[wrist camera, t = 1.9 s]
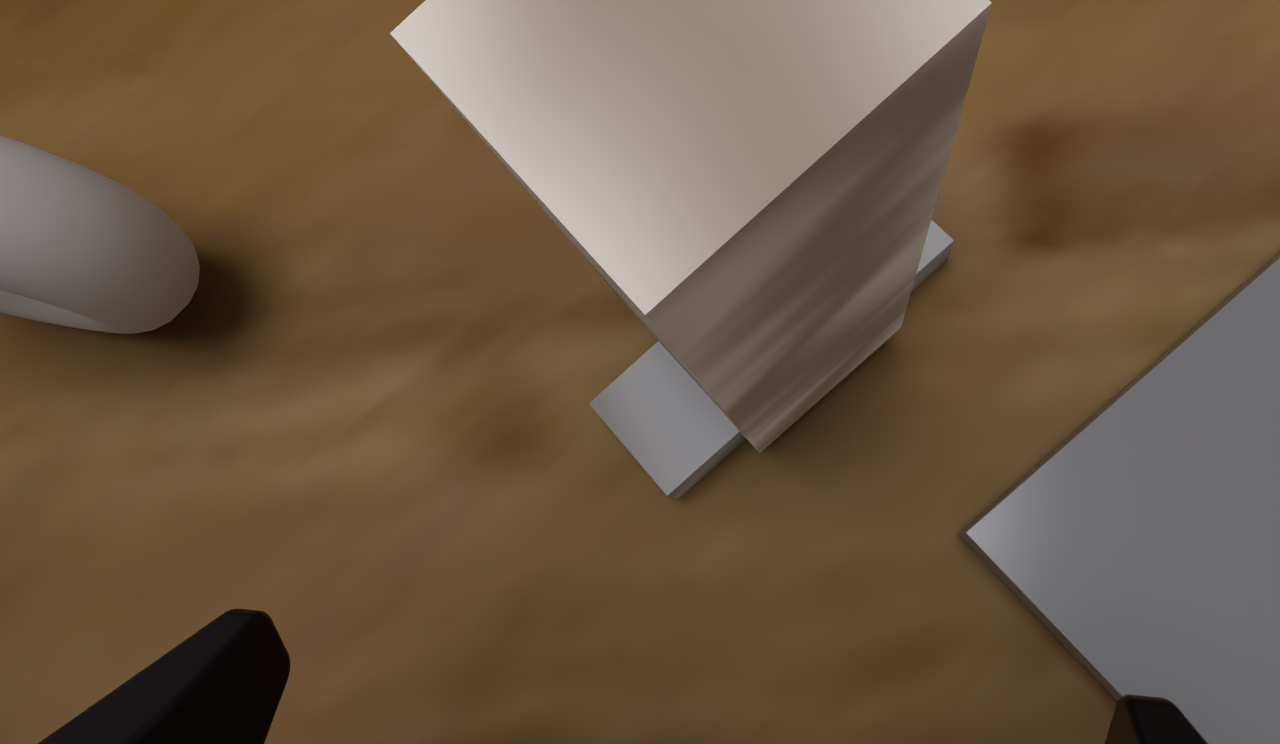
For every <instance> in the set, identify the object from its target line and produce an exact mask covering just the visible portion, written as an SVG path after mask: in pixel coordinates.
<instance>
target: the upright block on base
mask: <svg viewBox="0 0 1280 744" xmlns="http://www.w3.org/2000/svg"><path fill="white" fill-rule="evenodd" d="M991 4H992V3H991V2H990V1H989V0H425V1H424V2H423V3H422V4H421V5H420V6H419V7H418V8H417V9H416V10H415V11H414V12H413V13H411V14H410V15H409V16H408V17H407V18H406V19H405V20H404V21H403V22H402V23H401V24H400V25H398V26H397V27H396V28H395V29H394V30H393V31H392V32H391V33H390V34H391V35H392V36H393V37H394V38H395V40H396V41H397V42H398V43H399V44H400V45H401V47H402V48H403V49H404V50H405V51H406V52H407V53H408V55H409V56H410V57H411V58H412V59H413V60H414V61H415V63H416V64H417V65H418V66H419V67H420V68H421V70H422V71H423V72H424V73H425V74H426V75H427V76H428V78H429V79H430V80H431V81H432V82H433V83H434V84H435V86H436V87H437V88H438V89H439V90H440V91H441V93H442V94H443V95H444V96H445V97H446V98H447V99H448V101H449V102H450V103H451V104H452V105H453V106H454V107H455V109H456V110H457V111H458V112H459V113H460V114H461V115H462V117H463V118H464V119H465V120H466V121H467V122H468V124H469V125H470V126H471V127H472V128H473V129H474V130H475V132H476V133H477V134H478V135H479V136H480V137H481V138H482V140H483V141H484V142H485V143H486V144H487V145H488V147H489V148H490V149H491V150H492V151H493V152H494V153H495V155H496V156H497V157H498V158H499V159H500V160H501V161H502V163H503V164H504V165H505V166H506V167H507V168H508V170H509V171H510V172H511V173H512V174H513V175H514V176H515V178H516V179H517V180H518V181H519V182H520V183H521V184H522V186H523V187H524V188H525V189H526V190H527V191H528V193H529V194H530V195H531V196H532V197H533V198H534V199H535V201H536V202H537V203H538V204H539V205H540V206H541V207H542V209H543V210H544V211H545V212H546V213H547V214H548V216H549V217H550V218H551V219H552V220H553V221H554V222H555V224H556V225H557V226H558V227H559V228H560V229H561V230H562V232H563V233H564V234H565V235H566V236H567V237H568V239H569V240H570V241H571V242H572V243H573V244H574V245H575V247H576V248H577V249H578V250H579V251H580V252H581V253H582V255H583V256H584V257H585V258H586V259H587V260H588V261H589V263H590V264H591V265H592V266H593V267H594V268H595V270H596V271H597V272H598V273H599V274H600V275H601V276H602V278H603V279H604V280H605V281H606V282H607V283H608V284H609V286H610V287H611V288H612V289H613V290H614V291H615V293H616V294H617V295H618V296H619V297H620V298H621V299H622V301H623V302H624V303H625V304H626V305H627V306H628V307H629V309H630V310H631V311H632V312H633V313H634V314H635V316H636V317H637V318H638V319H639V320H640V321H641V322H642V323H643V325H644V326H645V327H646V328H647V329H648V330H649V331H650V332H651V333H652V335H653V336H654V337H655V338H656V339H657V340H658V342H657V343H656V344H655V345H653V346H652V347H651V348H650V349H649V350H648V351H647V352H646V353H644V354H643V355H642V356H641V357H640V358H639V359H638V360H637V361H636V362H634V363H633V364H632V365H631V366H630V367H629V368H628V369H627V370H626V371H624V372H623V373H622V374H621V375H620V376H619V377H618V378H617V379H616V380H614V381H613V382H612V383H611V384H610V385H609V386H608V387H607V388H606V389H604V390H603V391H602V392H601V393H600V394H599V395H598V396H597V397H596V398H594V399H593V400H592V401H591V402H590V403H589V404H590V406H591V407H592V408H593V409H594V410H595V411H596V413H597V414H598V415H599V416H600V417H601V419H602V420H603V421H604V422H605V423H606V424H607V426H608V427H609V428H610V429H611V430H612V432H613V433H614V434H615V435H616V436H617V437H618V439H619V440H620V441H621V442H622V443H623V444H624V446H625V447H626V448H627V449H628V450H629V452H630V453H631V454H632V455H633V456H634V457H635V459H636V460H637V461H638V462H639V463H640V465H641V466H642V467H643V468H644V469H645V470H646V472H647V473H648V474H649V475H650V476H651V478H652V479H653V480H654V481H655V482H656V483H657V485H658V486H659V487H660V488H661V489H662V491H663V492H664V493H665V494H666V495H667V496H669V497H672V498H675V499H679V498H680V497H681V496H682V495H683V494H685V493H686V492H687V491H688V490H689V489H690V488H691V487H692V486H693V485H695V484H696V483H697V482H698V481H699V480H700V479H701V478H702V477H704V476H705V475H706V474H707V473H708V472H709V471H710V470H711V469H713V468H714V467H715V466H716V465H717V464H718V463H719V462H720V461H722V460H723V459H724V458H725V457H726V456H727V455H728V454H729V453H731V452H732V451H733V450H734V449H735V448H736V447H737V446H738V445H740V444H741V443H742V442H743V441H744V440H745V439H747V440H748V441H749V442H750V443H751V445H752V446H753V447H754V448H755V449H756V450H757V451H758V452H759V453H761V452H762V451H763V450H764V449H765V448H766V447H767V446H769V445H770V444H771V443H772V442H773V441H774V440H775V439H776V438H778V437H779V436H780V435H781V434H782V433H783V432H784V431H785V430H787V429H788V428H789V427H790V426H791V425H792V424H793V423H794V422H796V421H797V420H798V419H799V418H800V417H801V416H802V415H803V414H805V413H806V412H807V411H808V410H809V409H810V408H811V407H812V406H814V405H815V404H816V403H817V402H818V401H819V400H820V399H821V398H823V397H824V396H825V395H826V394H827V393H828V392H829V391H830V390H832V389H833V388H834V387H835V386H836V385H837V384H838V383H839V382H841V381H842V380H843V379H844V378H845V377H846V376H847V375H848V374H850V373H851V372H852V371H853V370H854V369H855V368H856V367H857V366H859V365H860V364H861V363H862V362H863V361H864V360H865V359H866V358H868V357H869V356H870V355H871V354H872V353H873V352H874V351H875V350H877V349H878V348H879V347H880V346H881V345H882V344H883V343H884V342H886V341H887V340H888V339H889V338H890V337H891V336H892V335H893V334H895V333H896V332H897V331H898V330H899V329H900V328H901V327H902V323H903V319H904V316H905V312H906V309H907V305H908V302H909V298H910V294H911V291H913V290H914V289H915V288H916V287H917V286H918V285H919V284H920V283H922V282H923V281H924V280H925V279H926V278H927V277H928V276H929V275H931V274H932V273H933V272H934V271H935V270H936V269H937V268H938V267H940V266H941V265H942V264H943V263H944V262H945V261H946V260H947V258H948V255H949V252H950V250H951V247H952V244H953V242H954V240H953V239H952V238H951V237H950V236H949V235H947V234H946V233H945V232H944V231H943V230H942V229H941V228H940V227H939V226H938V225H937V224H936V223H935V222H933V221H932V220H931V219H932V216H933V212H934V208H935V205H936V201H937V198H938V194H939V190H940V187H941V183H942V180H943V176H944V173H945V169H946V165H947V162H948V158H949V155H950V151H951V147H952V144H953V140H954V137H955V133H956V130H957V126H958V122H959V119H960V115H961V112H962V108H963V104H964V101H965V97H966V94H967V90H968V87H969V83H970V79H971V76H972V72H973V69H974V65H975V61H976V58H977V54H978V51H979V47H980V44H981V40H982V36H983V33H984V29H985V26H986V22H987V18H988V15H989V11H990V8H991Z"/></svg>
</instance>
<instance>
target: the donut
mask: <svg viewBox="0 0 1280 744" xmlns="http://www.w3.org/2000/svg"><path fill="white" fill-rule="evenodd" d="M199 270H200V266H199V262H198V258H197V254H196V250H195V247H194V246H193V244H192V243H191V241H190V240H189V238H188V237H187V235H186V233H185V232H184V231H183V230H182V228H181V227H180V226H179V225H178V224H177V223H176V222H175V221H174V219H173V218H172V217H170V216H169V215H168V214H167V213H165V212H164V211H163V210H162V209H160V208H159V207H158V206H157V205H155V204H154V203H152V202H150V201H149V200H147V199H146V198H144V197H142V196H141V195H139V194H138V193H136V192H134V191H133V190H131V189H130V188H128V187H126V186H124V185H122V184H119V183H117V182H115V181H113V180H111V179H109V178H107V177H105V176H103V175H101V174H98V173H96V172H94V171H92V170H90V169H88V168H86V167H84V166H81V165H79V164H76V163H74V162H71V161H68V160H66V159H63V158H61V157H58V156H56V155H53V154H51V153H48V152H45V151H43V150H40V149H38V148H35V147H33V146H30V145H28V144H25V143H22V142H19V141H16V140H13V139H10V138H6V137H3V136H0V313H4V314H8V315H13V316H17V317H22V318H26V319H31V320H36V321H40V322H46V323H51V324H56V325H61V326H67V327H72V328H79V329H86V330H93V331H100V332H108V333H120V334H134V333H140V332H146V331H152V330H155V329H157V328H159V327H161V326H163V325H165V324H167V323H169V322H170V321H172V320H173V319H174V318H175V317H176V316H177V315H178V314H179V313H180V312H181V311H182V310H183V309H184V308H185V307H186V306H187V305H188V304H189V303H190V301H191V299H192V297H193V295H194V293H195V291H196V289H197V286H198V280H199Z"/></svg>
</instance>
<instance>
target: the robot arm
mask: <svg viewBox="0 0 1280 744" xmlns="http://www.w3.org/2000/svg"><path fill="white" fill-rule="evenodd" d="M289 672H290V657H289V654H288V652H287V650H286V648H285V646H284V644H283V642H282V640H281V638H280V635H279V633H278V631H277V629H276V627H275V625H274V623H273V621H272V619H271V618H270V616H269V615H268V614H267V613H265V612H263V611H258V610H247V609H233V610H229V611H227V612H225V613H224V614H222V615H221V616H219V617H218V618H216V619H215V620H213V621H212V622H211V623H209V624H208V625H206V626H205V627H203V628H202V629H201V630H199V631H198V632H196V633H195V634H193V635H192V636H191V637H189V638H188V639H186V640H185V641H183V642H182V643H181V644H179V645H178V646H176V647H175V648H173V649H172V650H171V651H169V652H168V653H166V654H165V655H164V656H162V657H161V658H159V659H158V660H156V661H155V662H154V663H152V664H151V665H149V666H148V667H146V668H145V669H144V670H142V671H141V672H139V673H138V674H136V675H135V676H134V677H132V678H131V679H129V680H128V681H126V682H125V683H124V684H122V685H121V686H119V687H118V688H116V689H115V690H114V691H112V692H111V693H109V694H108V695H106V696H105V697H104V698H102V699H101V700H99V701H98V702H96V703H95V704H94V705H92V706H91V707H89V708H88V709H87V710H85V711H84V712H82V713H81V714H79V715H78V716H77V717H75V718H74V719H72V720H71V721H69V722H68V723H67V724H65V725H64V726H62V727H61V728H59V729H58V730H57V731H55V732H54V733H52V734H51V735H49V736H48V737H47V738H45V739H44V740H42V741H41V742H39V743H38V744H264V742H265V739H266V737H267V734H268V731H269V729H270V726H271V723H272V721H273V718H274V715H275V712H276V710H277V707H278V704H279V702H280V699H281V696H282V693H283V691H284V688H285V685H286V683H287V680H288V676H289ZM1105 744H1208V743H1207V742H1206V740H1205V739H1204V738H1203V737H1202V736H1201V735H1200V733H1199V732H1198V731H1197V730H1196V729H1195V727H1194V726H1193V725H1192V724H1191V723H1190V721H1189V720H1188V719H1187V718H1186V717H1185V715H1184V714H1183V713H1182V712H1181V711H1180V709H1179V708H1178V707H1177V706H1176V705H1175V704H1174V703H1172V702H1171V701H1169V700H1167V699H1165V698H1161V697H1151V696H1141V695H1130V694H1128V695H1124V696H1122V697H1121V698H1120V699H1119V700H1118V702H1117V705H1116V708H1115V711H1114V715H1113V718H1112V721H1111V725H1110V728H1109V731H1108V735H1107V738H1106V741H1105Z"/></svg>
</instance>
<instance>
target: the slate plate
mask: <svg viewBox="0 0 1280 744" xmlns="http://www.w3.org/2000/svg"><path fill="white" fill-rule="evenodd" d="M958 535H959V536H960V537H961V538H962V539H963V540H964V541H965V542H966V543H967V544H968V545H969V546H970V548H971V549H972V550H973V551H974V552H975V553H976V554H977V555H978V556H979V557H980V558H981V559H982V560H983V561H984V562H985V563H986V564H987V565H988V566H989V567H990V569H991V570H992V571H993V572H994V573H995V574H996V575H997V576H998V577H999V578H1000V579H1001V580H1002V581H1003V582H1004V583H1005V584H1006V585H1007V586H1008V587H1009V588H1010V590H1011V591H1012V592H1013V593H1014V594H1015V595H1016V596H1017V597H1018V598H1019V599H1020V600H1021V601H1022V602H1023V603H1024V604H1025V605H1026V606H1027V607H1028V608H1029V610H1030V611H1031V612H1032V613H1033V614H1034V615H1035V616H1036V617H1037V618H1038V619H1039V620H1040V621H1041V622H1042V623H1043V624H1044V625H1045V626H1046V627H1047V628H1048V629H1049V631H1050V632H1051V633H1052V634H1053V635H1054V636H1055V637H1056V638H1057V639H1058V640H1059V641H1060V642H1061V643H1062V644H1063V645H1064V646H1065V647H1066V648H1067V649H1068V650H1069V652H1070V653H1071V654H1072V655H1073V656H1074V657H1075V658H1076V659H1077V660H1078V661H1079V662H1080V663H1081V664H1082V665H1083V666H1084V667H1085V668H1086V669H1087V670H1088V672H1089V673H1090V674H1091V675H1092V676H1093V677H1094V678H1095V679H1096V680H1097V681H1098V682H1099V683H1100V684H1101V685H1102V686H1103V687H1104V688H1105V689H1106V690H1107V691H1108V693H1109V694H1110V695H1111V696H1112V697H1113V698H1114V699H1115V700H1116V701H1117V702H1118V700H1119V699H1120V698H1121V697H1122V696H1124V695H1128V694H1130V695H1141V696H1151V697H1161V698H1165V699H1167V700H1169V701H1171V702H1172V703H1174V704H1175V705H1176V706H1177V707H1178V708H1179V709H1180V711H1181V712H1182V713H1183V714H1184V715H1185V717H1186V718H1187V719H1188V720H1189V721H1190V723H1191V724H1192V725H1193V726H1194V727H1195V729H1196V730H1197V731H1198V732H1199V733H1200V735H1201V736H1202V737H1203V738H1204V739H1205V740H1206V742H1207V743H1208V744H1280V252H1279V253H1278V254H1276V255H1275V256H1274V257H1273V258H1272V259H1271V260H1270V261H1268V262H1267V263H1266V264H1265V265H1264V266H1263V267H1262V268H1260V269H1259V270H1258V271H1257V272H1256V273H1255V274H1254V275H1252V276H1251V277H1250V278H1249V279H1248V280H1247V281H1246V282H1244V283H1243V284H1242V285H1241V286H1240V287H1239V288H1238V289H1236V290H1235V291H1234V292H1233V293H1232V294H1231V295H1230V296H1228V297H1227V298H1226V299H1225V300H1224V301H1223V302H1222V303H1220V304H1219V305H1218V306H1217V307H1216V308H1215V309H1214V310H1212V311H1211V312H1210V313H1209V314H1208V315H1207V316H1206V317H1204V318H1203V319H1202V320H1201V321H1200V322H1199V323H1198V324H1196V325H1195V326H1194V327H1193V328H1192V329H1191V330H1190V331H1189V332H1187V333H1186V334H1185V335H1184V336H1183V337H1182V338H1181V339H1179V340H1178V341H1177V342H1176V343H1175V344H1174V345H1173V346H1171V347H1170V348H1169V349H1168V350H1167V351H1166V352H1165V353H1163V354H1162V355H1161V356H1160V357H1159V358H1158V359H1157V360H1155V361H1154V362H1153V363H1152V364H1151V365H1150V366H1149V367H1147V368H1146V369H1145V370H1144V371H1143V372H1142V373H1141V374H1139V375H1138V376H1137V377H1136V378H1135V379H1134V380H1133V381H1131V382H1130V383H1129V384H1128V385H1127V386H1126V387H1125V388H1123V389H1122V390H1121V391H1120V392H1119V393H1118V394H1117V395H1115V396H1114V397H1113V398H1112V399H1111V400H1110V401H1109V402H1107V403H1106V404H1105V405H1104V406H1103V407H1102V408H1101V409H1100V410H1098V411H1097V412H1096V413H1095V414H1094V415H1093V416H1092V417H1090V418H1089V419H1088V420H1087V421H1086V422H1085V423H1084V424H1082V425H1081V426H1080V427H1079V428H1078V429H1077V430H1076V431H1074V432H1073V433H1072V434H1071V435H1070V436H1069V437H1068V438H1066V439H1065V440H1064V441H1063V442H1062V443H1061V444H1060V445H1058V446H1057V447H1056V448H1055V449H1054V450H1053V451H1052V452H1050V453H1049V454H1048V455H1047V456H1046V457H1045V458H1044V459H1042V460H1041V461H1040V462H1039V463H1038V464H1037V465H1036V466H1034V467H1033V468H1032V469H1031V470H1030V471H1029V472H1028V473H1026V474H1025V475H1024V476H1023V477H1022V478H1021V479H1020V480H1018V481H1017V482H1016V483H1015V484H1014V485H1013V486H1012V487H1010V488H1009V489H1008V490H1007V491H1006V492H1005V493H1004V494H1003V495H1001V496H1000V497H999V498H998V499H997V500H996V501H995V502H993V503H992V504H991V505H990V506H989V507H988V508H987V509H985V510H984V511H983V512H982V513H981V514H980V515H979V516H977V517H976V518H975V519H974V520H973V521H972V522H971V523H969V524H968V525H967V526H966V527H965V528H964V529H963V530H961V531H960V532H959V533H958Z"/></svg>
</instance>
